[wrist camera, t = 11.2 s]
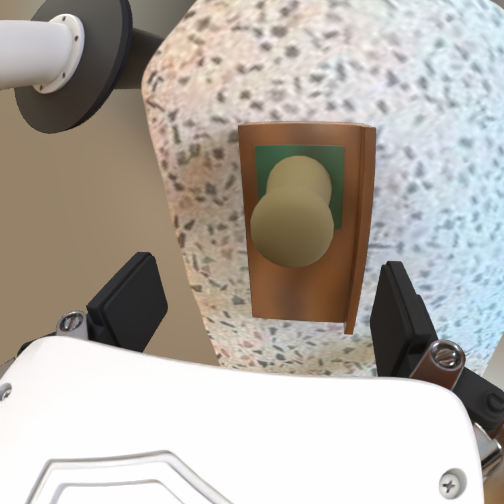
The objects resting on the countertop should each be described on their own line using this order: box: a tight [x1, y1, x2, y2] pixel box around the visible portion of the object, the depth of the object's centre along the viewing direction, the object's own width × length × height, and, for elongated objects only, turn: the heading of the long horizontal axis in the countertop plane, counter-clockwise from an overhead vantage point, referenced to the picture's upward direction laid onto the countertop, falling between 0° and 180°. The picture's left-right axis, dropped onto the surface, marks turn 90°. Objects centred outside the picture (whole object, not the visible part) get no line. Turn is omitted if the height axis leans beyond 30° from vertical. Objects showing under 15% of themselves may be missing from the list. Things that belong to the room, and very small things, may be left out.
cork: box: [250, 156, 334, 268], centre depth 21 cm, size 6×6×11 cm
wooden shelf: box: [238, 121, 376, 335], centre depth 30 cm, size 12×22×7 cm, turn 3°
